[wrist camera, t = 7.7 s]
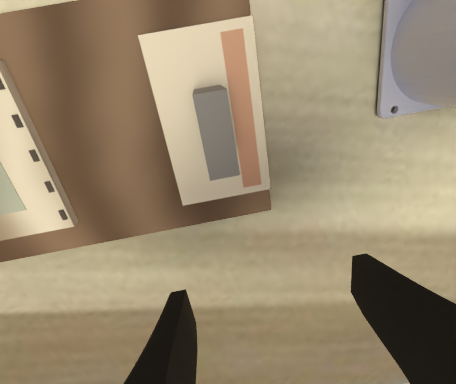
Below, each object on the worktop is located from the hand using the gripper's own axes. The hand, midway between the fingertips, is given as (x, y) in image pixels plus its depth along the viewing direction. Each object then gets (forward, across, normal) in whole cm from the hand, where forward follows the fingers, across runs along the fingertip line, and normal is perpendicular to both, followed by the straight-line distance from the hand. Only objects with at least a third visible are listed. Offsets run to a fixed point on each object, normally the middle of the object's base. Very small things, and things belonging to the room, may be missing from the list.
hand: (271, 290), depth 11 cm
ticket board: (+9, +9, -6) cm, 14 cm away
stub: (+8, +1, -6) cm, 10 cm away
